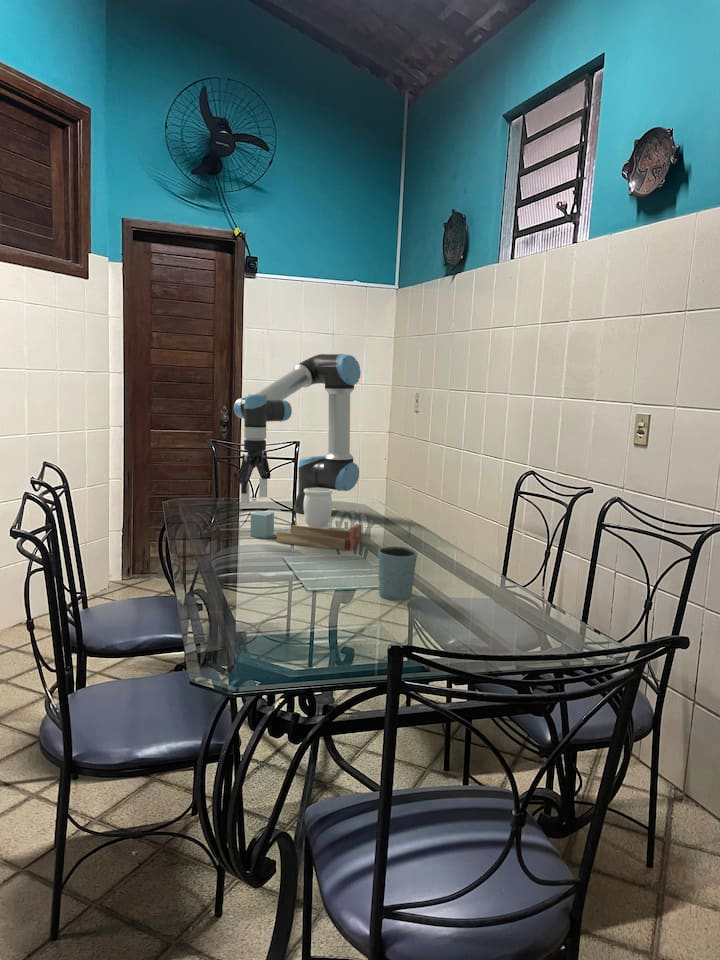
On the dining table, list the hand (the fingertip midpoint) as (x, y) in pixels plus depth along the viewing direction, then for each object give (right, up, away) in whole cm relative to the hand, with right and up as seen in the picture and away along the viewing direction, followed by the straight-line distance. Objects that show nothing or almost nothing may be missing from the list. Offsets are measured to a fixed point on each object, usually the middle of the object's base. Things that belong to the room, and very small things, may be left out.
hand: (254, 499), depth 242 cm
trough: (+23, -14, -5) cm, 28 cm away
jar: (+21, -12, +14) cm, 28 cm away
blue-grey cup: (+47, -24, -60) cm, 80 cm away
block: (+3, -13, +2) cm, 13 cm away
